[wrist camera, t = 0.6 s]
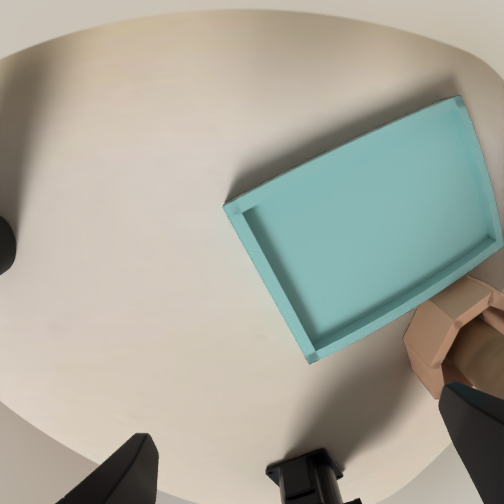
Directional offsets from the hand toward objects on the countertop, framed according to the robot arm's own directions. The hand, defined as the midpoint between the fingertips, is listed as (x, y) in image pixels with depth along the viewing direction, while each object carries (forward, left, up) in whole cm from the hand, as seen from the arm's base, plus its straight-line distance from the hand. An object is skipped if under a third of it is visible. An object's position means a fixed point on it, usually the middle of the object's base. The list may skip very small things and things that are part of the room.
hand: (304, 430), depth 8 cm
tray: (-1, -9, -14) cm, 16 cm away
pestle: (-12, -12, -14) cm, 22 cm away
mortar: (-12, -12, -14) cm, 22 cm away
